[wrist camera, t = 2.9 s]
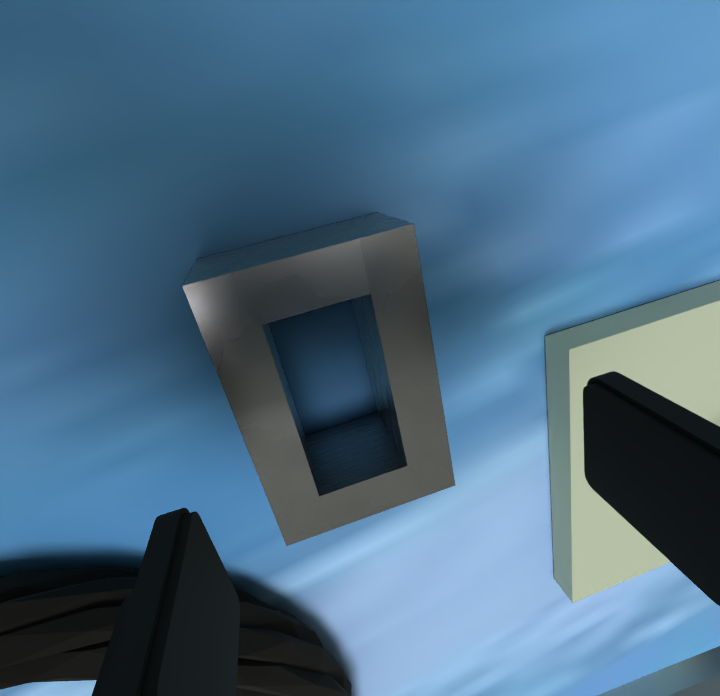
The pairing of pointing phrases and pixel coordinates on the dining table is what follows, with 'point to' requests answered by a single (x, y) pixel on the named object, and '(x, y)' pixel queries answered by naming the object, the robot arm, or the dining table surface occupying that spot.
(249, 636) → the cable lock
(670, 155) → the dining table surface
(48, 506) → the dining table surface
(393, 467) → the grey rectangular frame
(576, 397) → the keeper board
